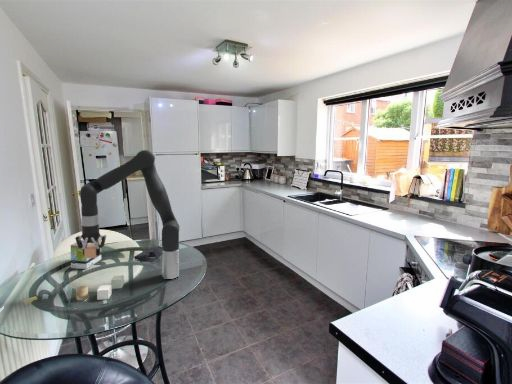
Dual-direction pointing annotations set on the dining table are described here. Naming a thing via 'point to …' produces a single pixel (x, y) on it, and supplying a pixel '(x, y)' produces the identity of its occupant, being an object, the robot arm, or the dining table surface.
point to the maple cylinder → (81, 293)
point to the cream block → (104, 292)
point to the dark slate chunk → (149, 254)
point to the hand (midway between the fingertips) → (91, 254)
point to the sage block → (117, 281)
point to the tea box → (82, 257)
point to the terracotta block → (90, 251)
